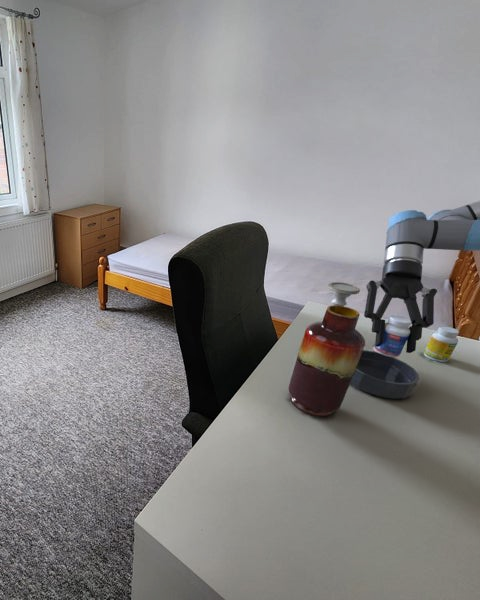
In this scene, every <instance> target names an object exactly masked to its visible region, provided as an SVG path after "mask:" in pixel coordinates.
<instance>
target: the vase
mask: <svg viewBox="0 0 480 600" xmlns="http://www.w3.org/2000/svg"><path fill="white" fill-rule="evenodd" d="M323 315H324V316H323V317H322V319H323V321H322V320H319V321H314V322H312V323H310V324H309V325H307V327H306V328H305V331H304V334H303V337H302V339H301V343H300V347H299V349H298V350H299V351H298V353H297V357H296V360H295V363H294V367H293V370H292V374H291V376H290V380H289V385H288V392H289V395H290V396H289V398H290V399H289V400H290V403H292V405H293V407H295V408H296V409H298V411H300V412H301V413H304V414H307V415H309V416H312V417H317V418H328V417H330V416H331V415H332V414H333V412H334V411H337V410H338V409H340V408H341V406H342V404H343V402H344V399H345V397H346V394H347V392H348V390H349V387H350V385H351V383H350V382H351V380H352V377H353V375H354V372H355V370H356V367H357V365H358V362H359V359H360V357H361V354H362V352H363V350H365V349H364V348H365V346H366V340H365V338H364V336H363V335H362V334H361V333H360V331H358V330H357V329H356V328H357V324H358V321H359V319H360V315H361V314H360V312H359V311H358V310H355V308H351V307H348V306H346V305H344V306H339V305H332V304H331V305H328V306H327V307H326V309H325V312H324V314H323Z"/></svg>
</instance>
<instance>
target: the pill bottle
mask: <svg viewBox="0 0 480 600" xmlns="http://www.w3.org/2000/svg"><path fill="white" fill-rule="evenodd" d="M411 325H412V323H411V320H410V318H408V317H405V316H402V315H396V314H393V315H391V316H390V317H389V319H388V322H385V329H384V338H383V344H382V345H381V346H379V347H377V346H375V343H374V344H373V347H372V349H373V351H374V352H378V353H380V354H382V355H385V356H389V357H394V358H397V357H400V355H401V354H402V351H403V349H404V347H405V345H406V344H407V339H408V337H409V335H410V329H409V327H410V326H411Z"/></svg>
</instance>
